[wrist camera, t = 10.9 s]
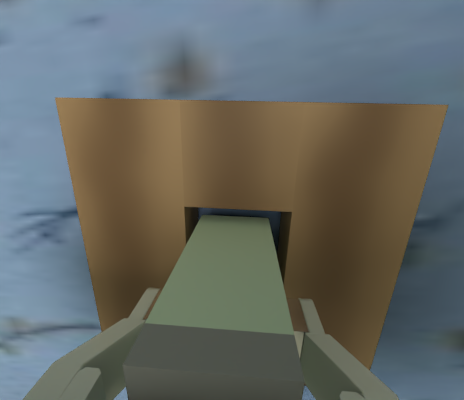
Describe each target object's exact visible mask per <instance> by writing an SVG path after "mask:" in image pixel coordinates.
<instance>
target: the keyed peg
mask: <svg viewBox="0 0 464 400" xmlns="http://www.w3.org/2000/svg"><path fill="white" fill-rule="evenodd" d="M122 366H123V371H124V377H125V383H126V389H127V395H128V400H302V395H303V389H304V384H305V380H304V376H303V371H302V367H301V362H300V358H299V353H298V349H297V344H296V340H295V335H294V331H293V326H292V322H291V317H290V313H289V308H288V304H287V299H286V295H285V290H284V286H283V281H282V277H281V272H280V268H279V263H278V259H277V254H276V250H275V245H274V241H273V236H272V232H271V227H270V223H269V218H258V217H238V216H217V215H202V216H201V218H200V220H199V222H198V224H197V225H196V227H195V229H194V231H193V233H192V235H191V237H190V239H189V241H188V242H187V244H186V246H185V248H184V250H183V252H182V254H181V256H180V258H179V259H178V261H177V263H176V265H175V267H174V269H173V271H172V273H171V275H170V276H169V278H168V280H167V282H166V284H165V286H164V288H163V290H162V292H161V293H160V295H159V297H158V299H157V301H156V303H155V305H154V307H153V309H152V310H151V312H150V314H149V316H148V318H147V320H146V322H145V324H144V326H143V327H142V329H141V331H140V333H139V335H138V337H137V339H136V341H135V343H134V344H133V346H132V348H131V350H130V352H129V354H128V356H127V358H126V360H125V361H124V363H123V365H122Z"/></svg>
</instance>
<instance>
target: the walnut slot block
mask: <svg viewBox="0 0 464 400" xmlns="http://www.w3.org/2000/svg"><path fill="white" fill-rule="evenodd" d="M55 100H56V105H57V110H58V115H59V120H60V125H61V130H62V135H63V140H64V145H65V150H66V155H67V160H68V165H69V170H70V175H71V180H72V185H73V190H74V195H75V200H76V205H77V210H78V215H79V220H80V225H81V230H82V235H83V240H84V245H85V250H86V255H87V260H88V265H89V270H90V275H91V280H92V285H93V290H94V296H95V301H96V306H97V311H98V316H99V321H100V326H101V331H102V332H103V331H105V330H106V329H108V328H109V327H111V326H112V325H114V324H116V323H117V322H119V321H120V320H122V319H124V318H128V317H129V316H130V314H131V313H132V311H133V310H134V308H135V306H136V305H137V303H138V302H139V300H140V299H141V297H142V295H143V294H144V292H145V291H146V290H147V289H148V288H159V289H163V288H164V286H165V284H166V282H167V280H168V278H169V276H170V275H171V273H172V271H173V269H174V267H175V265H176V263H177V261H178V259H179V258H180V256H181V254H182V252H183V250H184V248H185V246H186V244H187V242H188V241H189V239H190V237H191V235H192V233H193V231H194V229H195V227H196V225H197V224H198V222H199V219H198V207H202V208H222V209H243V210H263V211H281V220H280V230H279V240H278V251H277V259H278V263H279V268H280V272H281V277H282V281H283V286H284V290H285V295H286V298H296V299H298V298H301V299H311V300H312V301H313V303H314V305H315V308H316V311H317V313H318V316H319V319H320V321H321V324H322V326H323V329H324V332H325V334H329V335H331V336H332V337H333V338H334V339H335V340H336V341H337V342H338V343H339V344H341V345H342V346H343V347H344V348H345V349H346V350H347V351H348V352H349V353H351V354H352V355H353V356H354V357H355V358H356V359H357V360H358V361H359V362H361V363H362V364H363V365H364V366H365V367H366V368H367V369H368V370H369V371H370V368H371V365H372V361H373V358H374V355H375V351H376V348H377V345H378V341H379V338H380V334H381V331H382V328H383V324H384V321H385V318H386V314H387V311H388V307H389V304H390V301H391V297H392V294H393V291H394V287H395V284H396V280H397V277H398V274H399V270H400V267H401V264H402V260H403V257H404V253H405V250H406V247H407V243H408V240H409V237H410V233H411V230H412V226H413V223H414V220H415V216H416V213H417V210H418V206H419V203H420V199H421V196H422V193H423V189H424V186H425V183H426V179H427V176H428V172H429V169H430V166H431V162H432V159H433V156H434V152H435V149H436V145H437V142H438V139H439V135H440V132H441V129H442V125H443V122H444V118H445V115H446V112H447V108H448V105H428V104H374V103H320V102H265V101H211V100H157V99H103V98H55ZM304 386H306V384H304Z"/></svg>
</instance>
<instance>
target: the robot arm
mask: <svg viewBox="0 0 464 400" xmlns="http://www.w3.org/2000/svg"><path fill="white" fill-rule="evenodd" d="M162 290H163V289H159V288H148V289H147V290H146V291H145V292H144V294H143V295H142V297H141V299H140V300H139V302H138V303H137V305H136V306H135V308H134V310H133V311H132V313H131V314H130V316H129V317H128V318H124V319H122V320H120V321H119V322H117V323H116V324H114V325H112V326H111V327H109V328H108V329H106V330H105V331H103V332H101V333H100V334H98V335H97V336H95V337H93V338H92V339H90V340H89V341H87V342H85V343H84V344H82V345H81V346H79V347H77V348H76V349H74V350H73V351H71V352H69V353H68V354H66V355H65V356H63V357H61V358H60V359H58V360H57V361H55V362H54V363H53V364H52V365H51V366H50V367H49V369H48V370H47V371H46V372H45V373H44V375H43V376H42V377H41V378H40V379H39V381H38V382H37V383H36V384H35V385H34V386H33V388H32V389H31V390H30V391H29V392H28V394H27V395H26V396H25V397H24V398H23V400H113V399H114V398H115V397H116V396H117V395H118V394H119V393H120V392H121V391H122V390H123V389H124V388H125V387H126V383H125V377H124V371H123V366H122V365H123V363H124V361H125V360H126V358H127V356H128V354H129V352H130V350H131V348H132V346H133V344H134V343H135V341H136V339H137V337H138V335H139V333H140V331H141V329H142V327H143V326H144V324H145V322H146V320H147V318H148V316H149V314H150V312H151V310H152V309H153V307H154V305H155V303H156V301H157V299H158V297H159V295H160V293H161V292H162ZM286 299H287V304H288V308H289V313H290V317H291V322H292V326H293V331H294V335H295V340H296V344H297V349H298V353H299V358H300V362H301V367H302V371H303V376H304V380H305V384H306V386H307V387H308V389H309V390H310V392H311V393H312V395H313V396H314V398H315V399H316V400H399V398H398V397H397V395H396V394H395V393H394V392H393V391H392V390H390V389H389V388H388V387H387V386H386V385H385V384H384V383H383V382H382V381H381V380H379V379H378V378H377V377H376V376H375V375H374V374H373V373H372V372H371V371H369V370H368V369H367V368H366V367H365V366H364V365H363V364H362V363H361V362H359V361H358V360H357V359H356V358H355V357H354V356H353V355H352V354H351V353H349V352H348V351H347V350H346V349H345V348H344V347H343V346H342V345H341V344H339V343H338V342H337V341H336V340H335V339H334V338H333V337H332V336H331V335H329V334H325V332H324V329H323V326H322V324H321V321H320V319H319V316H318V313H317V311H316V308H315V305H314V303H313V301H312V300H311V299H301V298H298V299H296V298H286Z"/></svg>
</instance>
